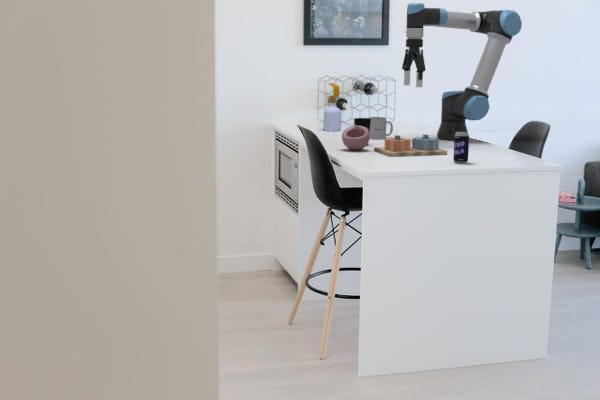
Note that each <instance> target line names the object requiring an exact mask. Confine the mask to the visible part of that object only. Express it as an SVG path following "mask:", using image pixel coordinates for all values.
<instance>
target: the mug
mask: <svg viewBox="0 0 600 400" xmlns="http://www.w3.org/2000/svg"><path fill="white" fill-rule="evenodd" d="M368 118H369V119H371V124H370V132H369V134H370V139H369V140H375V141H376V140H385V138H387V137H389V136H391V135H392V134H393V130H394V126H393V123H392V122H391V121H390V120H387V117H383V116H370V117H369V116H368ZM388 123H389V125H390V131H389V132H388V133H387V124H388Z"/></svg>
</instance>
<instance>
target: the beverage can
mask: <svg viewBox="0 0 600 400" xmlns="http://www.w3.org/2000/svg"><path fill="white" fill-rule="evenodd" d="M453 141H454V142H453V160H452V161H453V162H454V163H455V164H460V163H463V164H467V162H469V148H470V143H469V142H470V135H469V132H456V134H455V136H454V140H453Z"/></svg>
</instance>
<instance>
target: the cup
mask: <svg viewBox="0 0 600 400" xmlns="http://www.w3.org/2000/svg"><path fill="white" fill-rule="evenodd" d="M354 124H355V125H357V126H364V127H366V128H367V129H368V130H369V132H370V124H371V119H369V117H355V118H354V119H353V125H354ZM368 146H369V143H368V144H367V145H366V146H365V147H368Z"/></svg>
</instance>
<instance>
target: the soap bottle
mask: <svg viewBox="0 0 600 400" xmlns="http://www.w3.org/2000/svg"><path fill="white" fill-rule="evenodd" d="M328 85H329V86H331V87H332V90H333V93H332V94H333V95H329V96H327V98H329V99H330V101H329V103H328V105H329V106H328V107H326V108H324V111H323V130H324V129H326V130H330V131H329V132H341V130H342V111H341V109H340V108H339V107H337V105H336V104H337V102H336V101H335V99H336V98H339V97H340V86H339V85H338V84H336V83H334V82H329V83H328Z"/></svg>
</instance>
